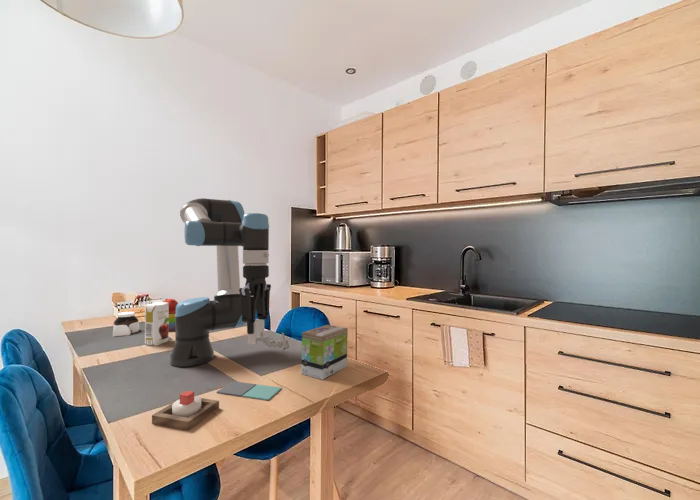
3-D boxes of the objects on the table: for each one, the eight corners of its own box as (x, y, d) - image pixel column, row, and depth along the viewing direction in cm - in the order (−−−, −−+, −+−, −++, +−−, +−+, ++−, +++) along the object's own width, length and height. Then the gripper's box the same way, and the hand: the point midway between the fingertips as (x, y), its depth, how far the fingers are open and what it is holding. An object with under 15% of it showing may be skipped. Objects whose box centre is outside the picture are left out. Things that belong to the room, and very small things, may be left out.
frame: (151, 423, 79) (151, 415, 79) (185, 402, 89) (185, 395, 89) (188, 430, 76) (188, 421, 76) (219, 408, 86) (219, 400, 86)
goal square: (242, 396, 93) (242, 395, 93) (257, 385, 101) (257, 384, 101) (268, 400, 91) (268, 399, 91) (281, 388, 99) (281, 387, 99)
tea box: (323, 380, 105) (323, 336, 105) (300, 374, 110) (300, 332, 110) (348, 366, 118) (348, 326, 118) (326, 361, 123) (326, 323, 123)
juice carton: (141, 348, 138) (141, 304, 138) (156, 342, 146) (156, 301, 146) (157, 349, 137) (157, 305, 137) (171, 343, 145) (171, 302, 145)
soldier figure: (269, 330, 99) (296, 329, 92) (270, 346, 99) (297, 346, 92) (248, 335, 93) (275, 334, 86) (249, 352, 92) (276, 352, 86)
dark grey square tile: (216, 393, 96) (216, 391, 96) (233, 382, 103) (233, 381, 103) (241, 396, 93) (241, 395, 93) (256, 385, 101) (256, 384, 101)
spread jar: (134, 333, 163) (134, 310, 163) (144, 336, 156) (144, 313, 156) (106, 338, 153) (106, 314, 153) (115, 342, 147) (115, 317, 147)
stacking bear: (186, 332, 164) (186, 298, 164) (166, 337, 156) (166, 301, 156) (174, 329, 170) (174, 296, 170) (154, 334, 161) (154, 299, 161)
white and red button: (165, 419, 80) (165, 397, 80) (186, 406, 87) (186, 386, 87) (187, 423, 78) (187, 400, 78) (207, 410, 85) (207, 389, 85)
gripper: (250, 265, 87) (250, 351, 87) (280, 263, 103) (280, 336, 102) (227, 265, 89) (227, 349, 89) (260, 263, 105) (260, 334, 105)
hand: (256, 342), depth 96 cm, fingers closed on soldier figure, 3 cm apart
